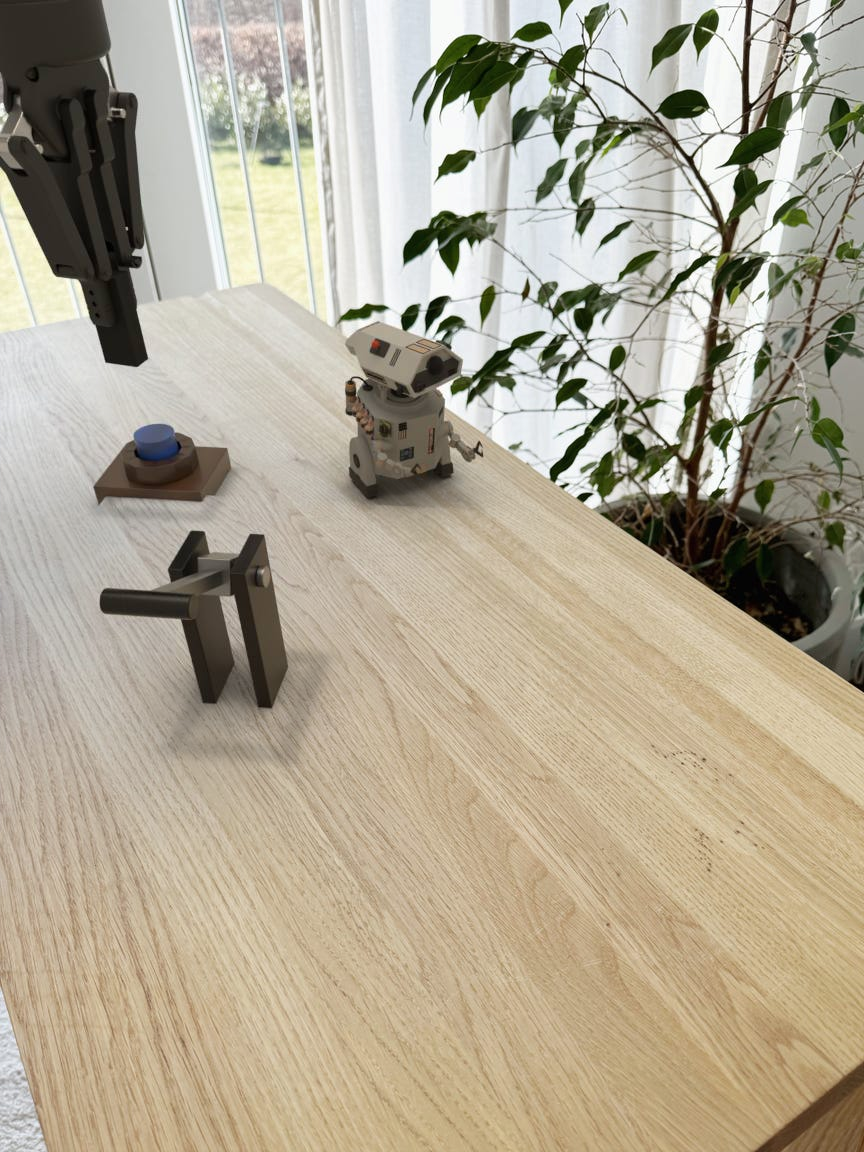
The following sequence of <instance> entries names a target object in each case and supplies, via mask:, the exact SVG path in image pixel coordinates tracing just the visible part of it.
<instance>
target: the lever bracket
mask: <svg viewBox="0 0 864 1152" xmlns="http://www.w3.org/2000/svg"><path fill="white" fill-rule="evenodd" d="M210 553H211V552H210V549H209V544H208V539H207V535H206V531H205V530H193V529H192V530H190V531H189V533H188V534H187V536H186V538H185V540H184V541H183V543H182V544H181V546H180V548H179V549H178V551H177V553H176V554H175V556H174V558H173V559H172V561H171V563H170V564H169V566H168V567H167V573H168V577H169V580H170V583H171V582H174V581H176V580H179V579H182V578H184V577H187V576H190V575H192V574H195V573H197V572H198V565H197V558H198V557H201V556H204V555H207V554H210ZM238 554H239V556H238V558H237V560H236V562H235V564H234V566H233V567H232V569H231V571H230V578H231V583H232V587H233V592H234V595H233V596H234V600H235V606H236V610H237V614H238V620H239V625H240V629H241V633H242V639H243V642H244V643H243V644H244V648H245V652H246V657H247V662H248V666H249V671H250V675H251V680H252V684H253V689H254V694H255V699H256V703H257V708H261V709H262V708H264V709H273V706H274V704H275V701H276V699H277V696H278V694H279V691H280V688H281V686H282V683H283V682H284V678H285V676H286V673H287V671H288V668H289V664H288V658H287V651H286V647H285V641H284V636H283V631H282V624H281V618H280V613H279V608H278V603H277V598H276V597H277V596H276V592H275V591H276V590H275V587H274V581H273V574H272V569H271V564H270V558H269V552H268V548H267V542H266V537H265V534H263V533H249V535H248V537H247V538H246V540H245V542H244V544H243V546H242V548H241V549H240V551H239V553H238ZM197 599H198V611H197V615H196V617H195V618H194V619H193V620H184V619H180V622H181V626H182V629H183V635H184V637H185V641H186V644H187V649H188V653H189V657H190V660H191V664H192V668H193V672H194V676H195V679H196V682H197V686H198V691H199V695H200V699H201V701H202V704H211V705H212V704H213V705H216V704H217V703H218V700H219V698H220V696H221V694H222V692H223V689H224V687H225V685H226V683H227V680H228V678H229V676H230V673H231V671H232V670H233V667H234V665H235V658H234V654H233V650H232V646H231V645H232V644H231V640H230V636H229V633H228V628H227V623H226V619H225V615H224V610H223V605H222V602H221V596H213V595H199V596H197Z"/></svg>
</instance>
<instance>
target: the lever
mask: <svg viewBox="0 0 864 1152" xmlns="http://www.w3.org/2000/svg"><path fill="white" fill-rule="evenodd" d="M239 554H240V553H236V552H234V553H233V552H220V551H213V552H210V554H207V555H204V556H201V557H198V558H197V565H198V572H197V573H195V574H192V575H190V576H187V577H184V578H182V579H179V580H176V581H174V582H171V581H170V582H168V583H166V584H164V585H160V586H158V587H156V588H153V589H150V590H146V589H132V588H131V589H130V588H117V587H105V588H103V589H102V591H100V595H99V609H100V611H101V613H102V614H104V615H110V616H111V615H113V616H126V617H127V616H129V617H141V618H143V617H144V618H154V619H155V618H157V619H170V620H171V619H173V620H181V619H184V620H193V619H194V618H195V617H196V615H197V611H198V599H197V596H199V595H213V596H220V597H233V596H234V592H233V587H232V583H231V578H230V571H231V569H232V567H233V566H234V564H235V562H236V560H237V558H238V556H239Z"/></svg>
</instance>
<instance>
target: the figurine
mask: <svg viewBox="0 0 864 1152" xmlns="http://www.w3.org/2000/svg"><path fill="white" fill-rule="evenodd" d="M344 345H345V347H346V349H347V350H348V351H349V353H350V355H353V356H356V359H357V361H358V364H359V367H360V369H361V370H362V372H363V374H364V376H365V378H366V379H364V378H363V377H360V376H359V375H358V376H357V375H356V376H355V375H354V376H351V378H350V379H348V380H346V381H345V383H344V385H345V388H344V394H345V412H344V413H345V414H346V415H347V416H350V417H353V418H355V421H356V423H357V436H354V437H351V438H350V441H349V446H348V451H349V452H348V455H349V467H348V476H349V478H350V479H351V480H352V482H353V484H355V485H356V487H357V488H359V490H360V491H361V493H362V495H365V498H366V499H369V498H372V497H377V496H378V495H380V494H381V492H380V487H379V483H378V482H377V477H376V475H379V476H382V477H386V478H390V479H394V480H399V479H403V478H408V477H412V476H415V477H416V478H417V479H418V480H419V481H420V480H421V479H422V478H423V477H424V476H426V475H425V473H426V472H428V471H431V470H433V469H434V470H435V472H436V473H437V474H439V476H440V478H444V477H448V476H452V474H455V472H454V471H455V470H454V463H453V462H452V459H451V448H452V449H456V450H457V451H458V452H459V454H460V455H461V457H462V458H463V460H464V461H466V463H472V462H473V461H472V460H475V459H476V455H478V456H479V457H480V458H482V459H483V458H484V452H483V449H484V446H483V444H482V442H481V441H480V440H478V441H477V443H476V445H475V447H471V446H469V445H467V444H466V443H465V442H464V441H462V440H461V439H462V438H461V435H460V434H459V433H456V432H455V431H454V426H453V424H452V422H451V421H450V420H445V410H446V409H445V406H446V399H445V397H444V394H443V393H442V392H441V391H440V389H438V388H440V387H442V386H444V385H446V384H448V383H449V382H452V381H453V380H455V379H457V378H459V377H461V375H462V369H463V364H464V363H463V362H464V359H463V358H462V357H460V356H459V355H458V354H457V353H455V352H454V351H453V350H452V348H453V346H452V345H451V344H449V342H446V341H444V340H439V339H436V340H435V341H434V340H431V339H429V338H426V337H423V336H420V335H417V334H415V333H412V332H409V331H406V330H404V329H401V328H398V327H396V326H392V325H391V324H387V323H384V322H382V321H379V320H376V321H375V322H372V323H370V324H367V325H365V326H363V327H360V328H358V329H356V330H355V331H354V332H353V333H352V334H351V335H350V336H349V337H348V338H347V339H346V340H345V343H344ZM354 379H358V380H360V381H362V384H361V385H360V387H359V389H357V382H356V381H355V380H354ZM479 447H481V451H480V450H479ZM422 473H424V474H422ZM420 474H422V475H420Z"/></svg>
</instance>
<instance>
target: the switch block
mask: <svg viewBox="0 0 864 1152" xmlns="http://www.w3.org/2000/svg"><path fill="white" fill-rule="evenodd" d="M174 432H175V431H174ZM175 436H176V440H177V445H178V449H179V451H178V454H176V455H174V456H172V457H170V458H168V459H164V460H159V461H143V460H141V459H140V458H139V456H138V453H137V449H136V445H135V441H134V439H132V440H130V441H128V442H126V443H125V444H124V445H123V447H122V449H121V450H120V451H119V453H117V455H116V456H115V457H114V458H113V460H112V461H111V462H110V464H109V465H108V467H107V468H106V469H105V471H103V473H102V474H101V475H100V477H99V478H98V479H97V481H96V482H95V483H94V485H93V491H94V494H95V497H96V501H97V504H98V506H100V505H101V504H102V502H103V501H104V500H105V499H106V498H107V497H110V498H111V497H114V498H131V499H147V500H149V499H151V500H165V501H166V500H168V501H185V502H186V501H187V502H203V501H204V500H205V498H206V497H207V496H214V497H215V496H216V494H217V493H218V491H219V489H220V487H221V486H222V484H223V482H224V481H225V479H226V477H228V474H229V472H230V470H231V469H232V464H231V459H230V454H229V449H228V447H221V446H219V447H217V446H215V447H214V446H198V445H197V446H196V444H195V442H194V440H193V438H192V437H191V436H188V435H186V434H183V433H181V432H175Z"/></svg>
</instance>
